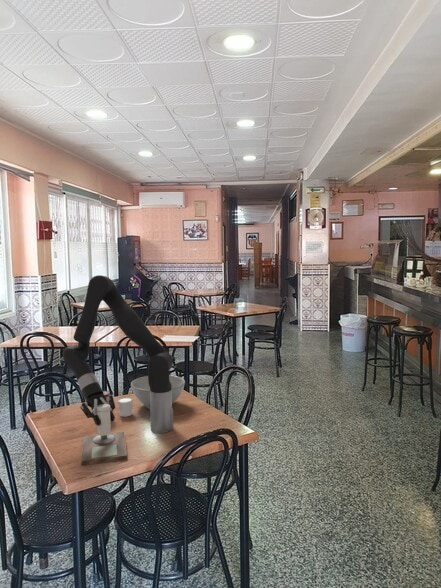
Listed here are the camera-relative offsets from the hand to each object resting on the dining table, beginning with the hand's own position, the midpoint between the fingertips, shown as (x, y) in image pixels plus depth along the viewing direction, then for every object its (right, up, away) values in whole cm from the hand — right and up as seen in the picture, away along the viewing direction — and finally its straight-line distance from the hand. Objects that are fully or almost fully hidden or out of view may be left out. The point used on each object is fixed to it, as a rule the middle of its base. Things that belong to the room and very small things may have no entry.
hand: (106, 422), depth 168 cm
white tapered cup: (0, -7, +34) cm, 34 cm away
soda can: (-9, -7, +29) cm, 31 cm away
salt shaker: (-1, -5, +2) cm, 5 cm away
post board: (0, -9, -3) cm, 10 cm away
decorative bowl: (+14, -5, +45) cm, 48 cm away
